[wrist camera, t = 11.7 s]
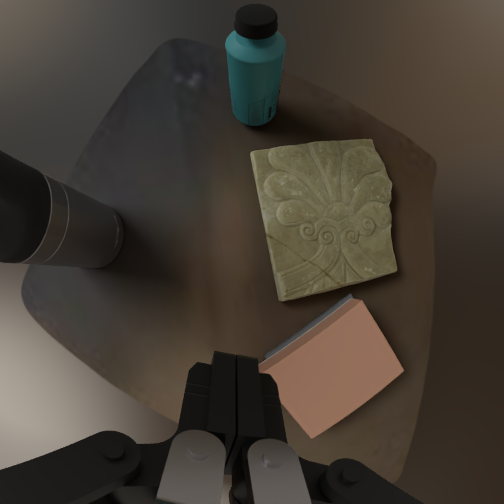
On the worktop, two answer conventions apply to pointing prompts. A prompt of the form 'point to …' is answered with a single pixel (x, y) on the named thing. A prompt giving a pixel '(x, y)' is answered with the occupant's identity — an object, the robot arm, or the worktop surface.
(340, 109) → the worktop surface
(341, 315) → the terracotta tile
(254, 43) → the beverage bottle
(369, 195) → the decorative tile
